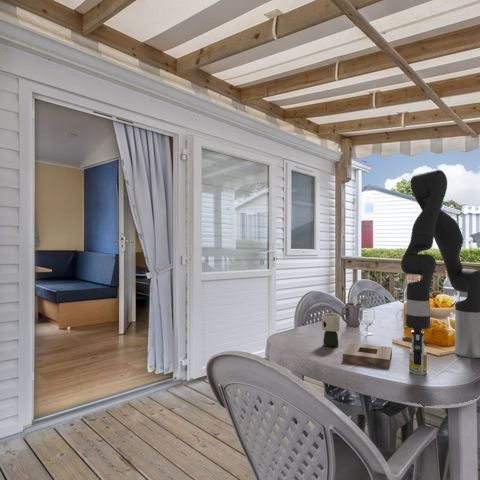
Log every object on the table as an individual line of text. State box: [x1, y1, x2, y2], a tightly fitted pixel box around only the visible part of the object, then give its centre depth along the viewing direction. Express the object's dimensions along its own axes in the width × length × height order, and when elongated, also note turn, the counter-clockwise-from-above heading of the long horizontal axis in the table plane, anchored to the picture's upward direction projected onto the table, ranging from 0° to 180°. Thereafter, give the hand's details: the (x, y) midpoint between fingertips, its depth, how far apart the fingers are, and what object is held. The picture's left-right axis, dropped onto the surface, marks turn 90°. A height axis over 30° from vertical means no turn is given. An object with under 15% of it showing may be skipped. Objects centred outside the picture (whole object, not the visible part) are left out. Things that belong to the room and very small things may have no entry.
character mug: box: [321, 312, 341, 348], centre depth 160 cm, size 11×7×13 cm, turn 174°
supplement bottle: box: [408, 342, 428, 376], centre depth 129 cm, size 5×5×10 cm
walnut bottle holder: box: [342, 342, 393, 369], centre depth 144 cm, size 16×16×3 cm
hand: (417, 360), depth 129 cm, fingers open, 8 cm apart
